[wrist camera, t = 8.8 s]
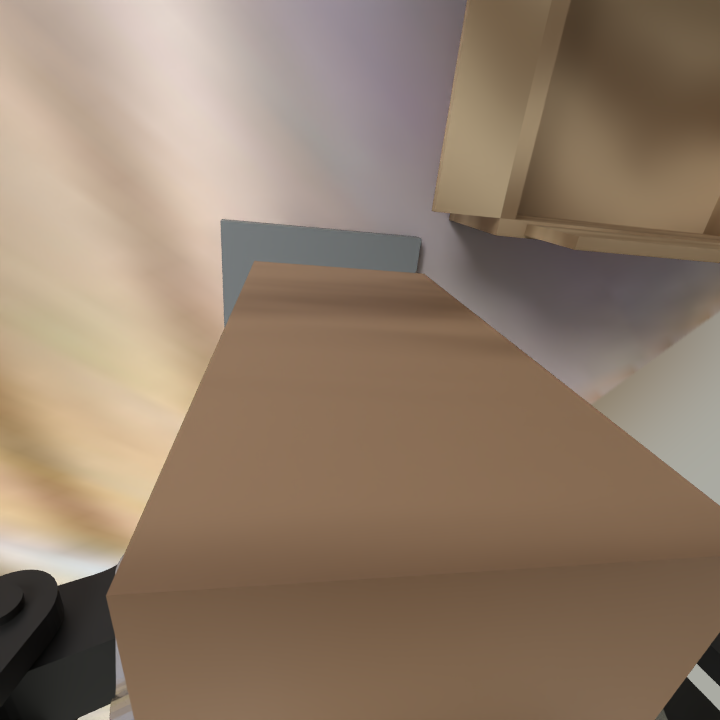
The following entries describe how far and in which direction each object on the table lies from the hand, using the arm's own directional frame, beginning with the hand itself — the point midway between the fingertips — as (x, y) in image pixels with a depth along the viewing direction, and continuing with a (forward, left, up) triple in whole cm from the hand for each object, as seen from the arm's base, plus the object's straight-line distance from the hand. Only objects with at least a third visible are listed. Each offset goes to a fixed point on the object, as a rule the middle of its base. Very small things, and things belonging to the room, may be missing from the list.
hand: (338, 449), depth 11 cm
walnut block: (0, 0, -3) cm, 3 cm away
